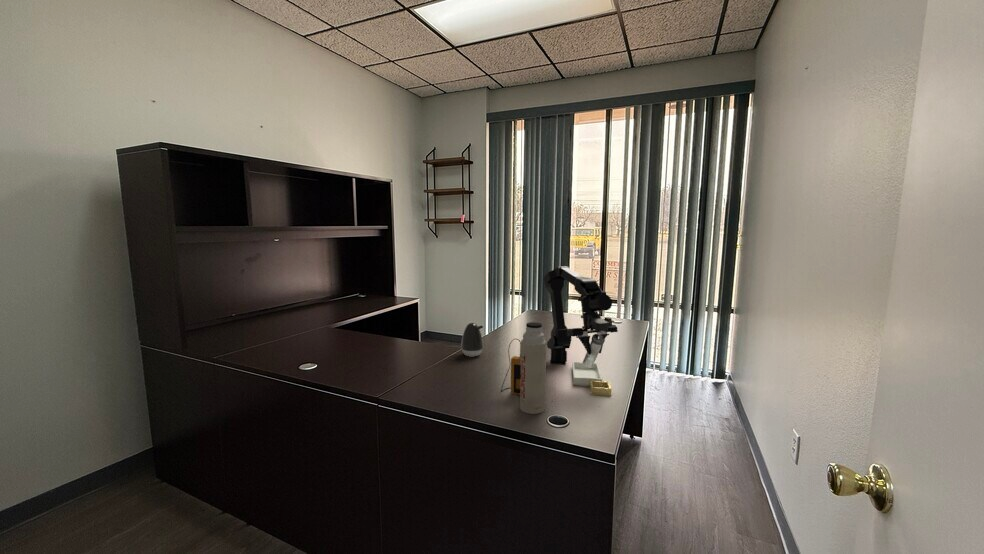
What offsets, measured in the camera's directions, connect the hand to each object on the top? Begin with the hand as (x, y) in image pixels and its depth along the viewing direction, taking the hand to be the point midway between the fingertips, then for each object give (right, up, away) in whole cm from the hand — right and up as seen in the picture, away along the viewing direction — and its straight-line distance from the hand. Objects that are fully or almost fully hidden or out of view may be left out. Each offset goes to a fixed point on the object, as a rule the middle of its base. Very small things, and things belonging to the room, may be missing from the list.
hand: (594, 353), depth 146 cm
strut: (-1, -5, +5) cm, 7 cm away
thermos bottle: (-25, -14, -20) cm, 35 cm away
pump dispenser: (-48, -8, +34) cm, 59 cm away
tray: (-1, -11, +7) cm, 13 cm away
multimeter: (-27, -12, -5) cm, 30 cm away
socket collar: (0, -12, -6) cm, 14 cm away
